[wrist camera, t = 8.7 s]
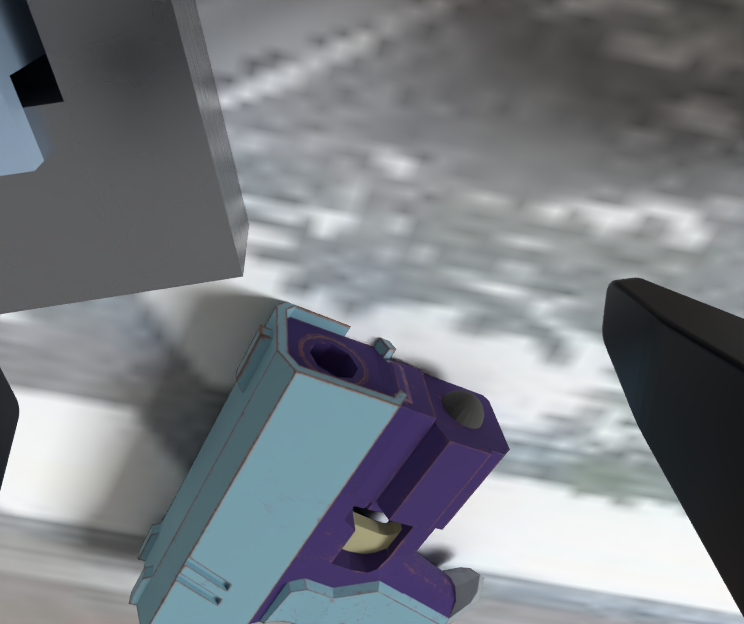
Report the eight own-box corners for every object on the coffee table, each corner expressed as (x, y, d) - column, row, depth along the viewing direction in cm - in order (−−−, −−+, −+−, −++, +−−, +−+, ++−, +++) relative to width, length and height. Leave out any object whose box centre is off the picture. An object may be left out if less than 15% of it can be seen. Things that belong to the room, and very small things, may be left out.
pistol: (409, 612, 34) (128, 556, 29) (586, 410, 28) (265, 289, 22) (424, 692, 31) (109, 645, 26) (631, 482, 24) (263, 360, 19)
